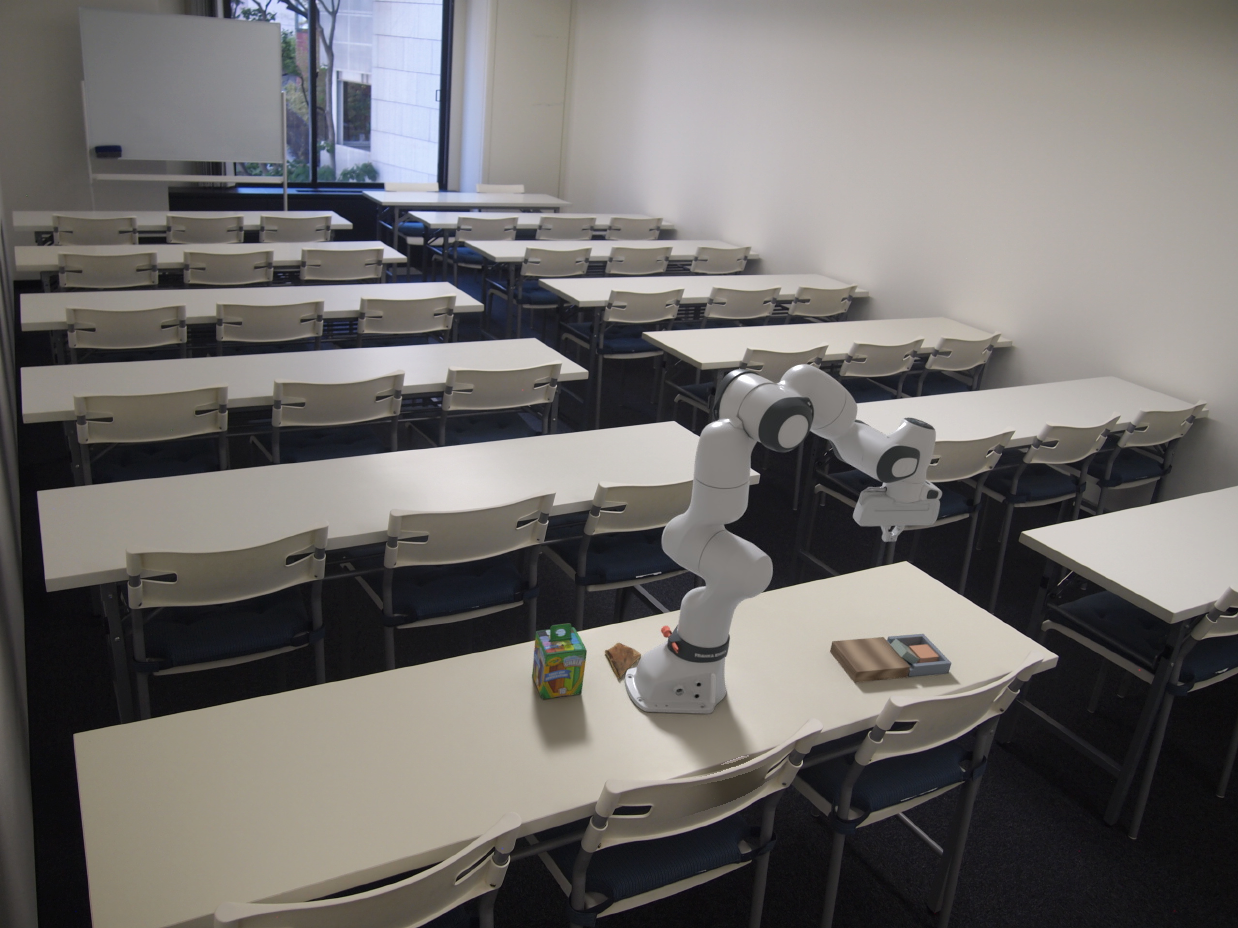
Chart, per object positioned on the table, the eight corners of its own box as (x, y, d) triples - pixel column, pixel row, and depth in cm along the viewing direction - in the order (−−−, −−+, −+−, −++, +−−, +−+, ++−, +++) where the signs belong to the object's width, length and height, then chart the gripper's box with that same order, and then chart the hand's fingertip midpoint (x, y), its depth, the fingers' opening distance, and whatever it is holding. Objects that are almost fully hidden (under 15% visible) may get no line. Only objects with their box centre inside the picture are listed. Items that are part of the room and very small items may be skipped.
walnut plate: (854, 682, 210) (857, 671, 209) (829, 651, 221) (832, 641, 220) (907, 677, 214) (910, 666, 213) (880, 647, 225) (883, 636, 224)
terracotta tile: (938, 656, 219) (936, 663, 220) (927, 644, 224) (925, 650, 224) (921, 658, 218) (919, 665, 219) (909, 645, 222) (907, 652, 223)
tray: (908, 677, 214) (911, 666, 213) (881, 646, 225) (884, 636, 224) (948, 673, 218) (951, 662, 216) (920, 643, 228) (923, 633, 227)
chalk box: (541, 700, 193) (546, 642, 187) (530, 674, 201) (535, 617, 195) (583, 694, 196) (589, 637, 190) (570, 668, 204) (576, 612, 198)
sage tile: (901, 657, 216) (907, 650, 216) (890, 644, 220) (895, 638, 220) (913, 665, 218) (919, 659, 218) (902, 652, 223) (907, 646, 222)
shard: (618, 682, 202) (619, 675, 202) (589, 668, 206) (590, 662, 205) (642, 658, 211) (643, 652, 210) (613, 646, 214) (614, 639, 214)
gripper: (869, 493, 202) (855, 548, 208) (948, 492, 208) (933, 545, 213) (855, 481, 208) (842, 534, 213) (933, 480, 214) (918, 533, 219)
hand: (888, 540), depth 213 cm, fingers closed
